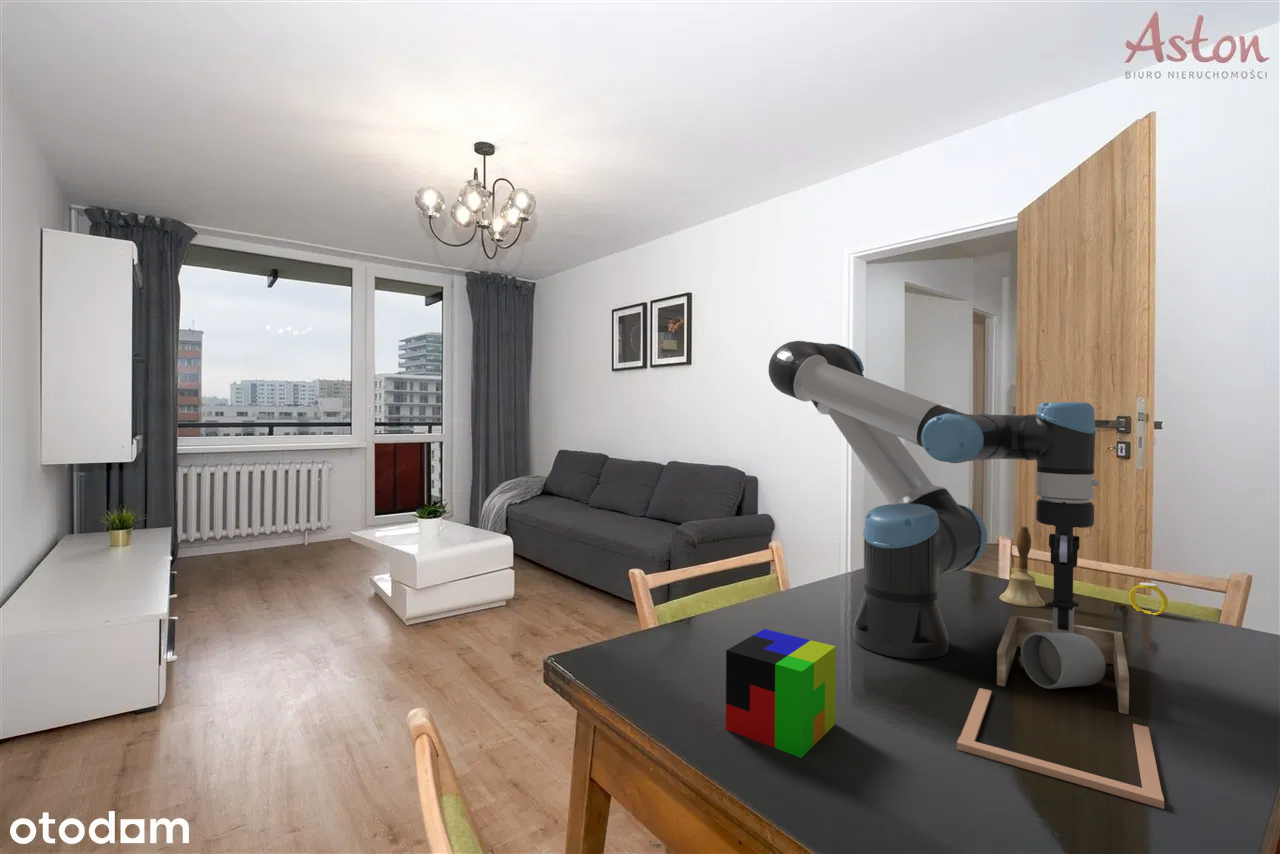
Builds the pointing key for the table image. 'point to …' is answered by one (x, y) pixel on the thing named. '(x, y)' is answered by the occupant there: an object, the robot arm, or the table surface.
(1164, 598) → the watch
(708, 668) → the table surface
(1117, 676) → the frame
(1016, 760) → the terracotta bay
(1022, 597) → the hand bell
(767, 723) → the puzzle toy
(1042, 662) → the ceramic mug
